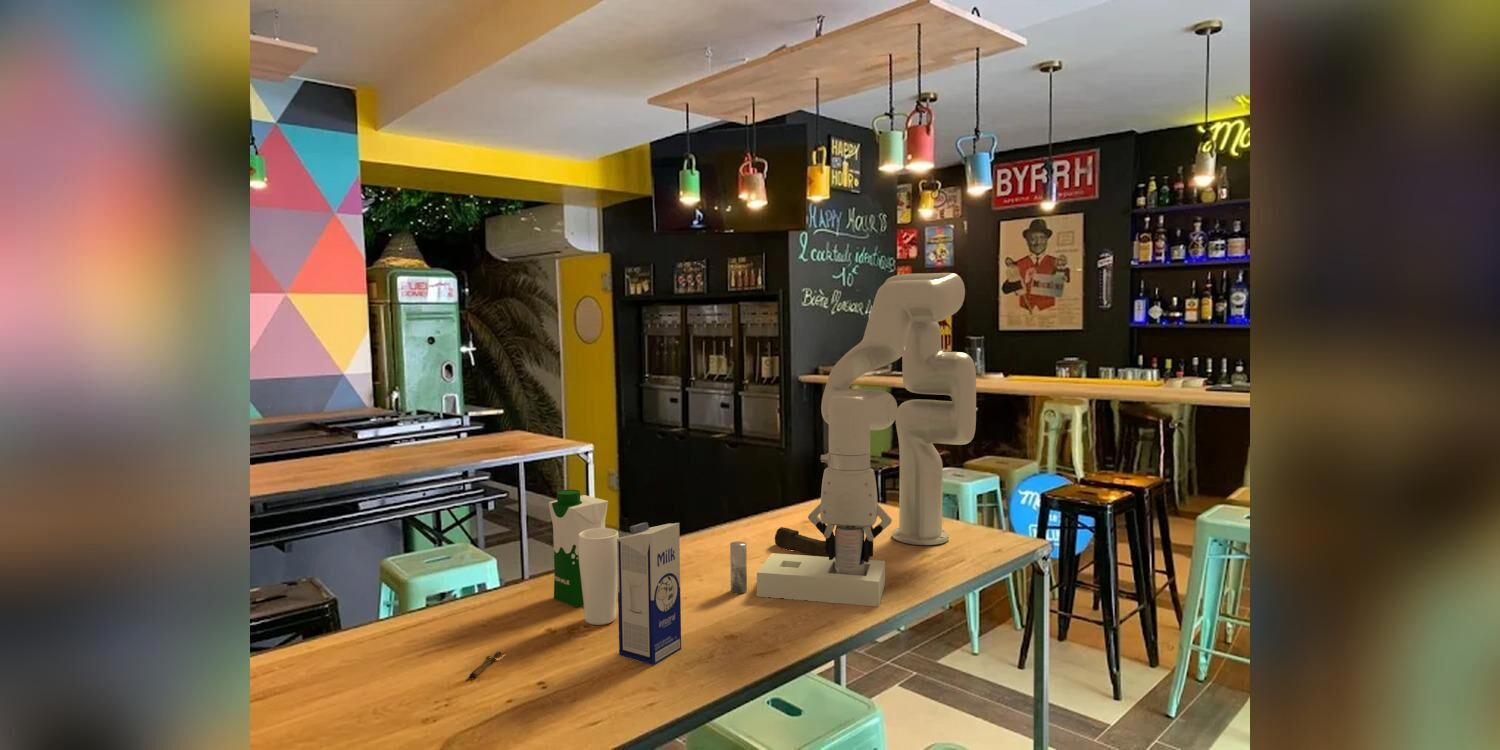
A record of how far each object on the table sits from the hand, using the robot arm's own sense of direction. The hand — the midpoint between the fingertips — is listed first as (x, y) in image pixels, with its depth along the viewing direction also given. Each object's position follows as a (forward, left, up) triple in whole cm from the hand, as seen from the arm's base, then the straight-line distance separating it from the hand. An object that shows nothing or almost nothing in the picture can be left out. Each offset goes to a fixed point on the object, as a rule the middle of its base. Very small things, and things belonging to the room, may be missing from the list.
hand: (849, 558), depth 148 cm
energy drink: (0, 0, -6) cm, 6 cm away
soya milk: (+14, -47, -7) cm, 50 cm away
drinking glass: (+23, -39, -7) cm, 46 cm away
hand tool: (-21, -12, -7) cm, 25 cm away
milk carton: (+33, -26, -7) cm, 43 cm away
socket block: (0, -5, -6) cm, 8 cm away
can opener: (+43, -48, -7) cm, 65 cm away
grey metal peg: (+4, -20, -6) cm, 21 cm away
